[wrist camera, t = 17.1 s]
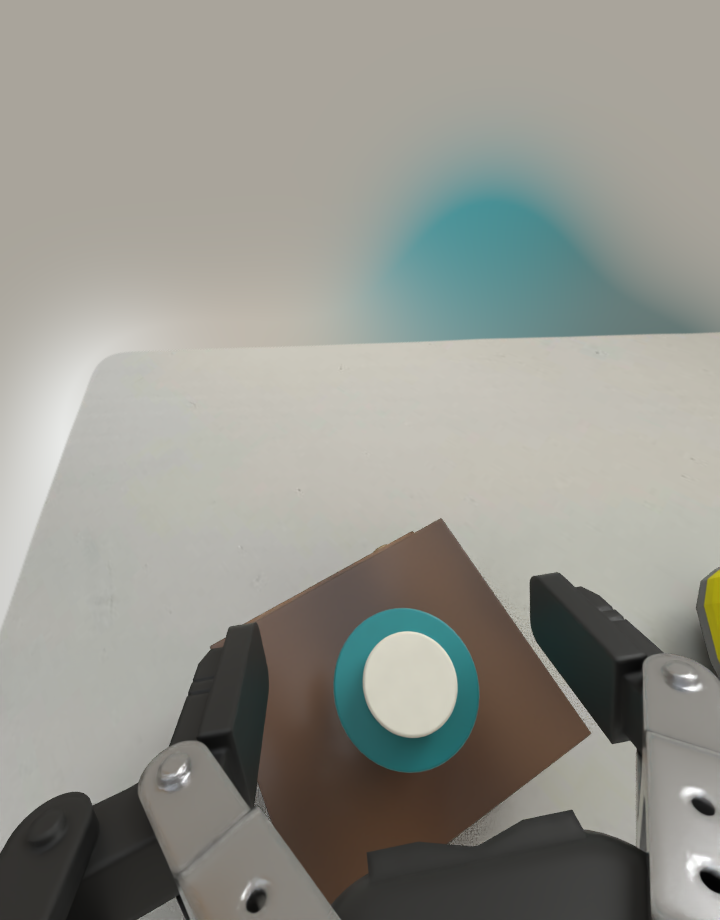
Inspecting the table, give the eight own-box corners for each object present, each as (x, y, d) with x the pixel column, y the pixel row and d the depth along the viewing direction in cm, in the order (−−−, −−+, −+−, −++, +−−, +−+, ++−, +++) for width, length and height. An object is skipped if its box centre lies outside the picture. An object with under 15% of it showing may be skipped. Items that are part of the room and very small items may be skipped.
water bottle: (374, 766, 19) (381, 822, 10) (329, 669, 21) (302, 647, 12) (456, 710, 20) (526, 718, 11) (406, 623, 22) (432, 571, 13)
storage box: (332, 866, 24) (314, 945, 16) (244, 642, 30) (201, 622, 22) (527, 724, 27) (592, 733, 19) (414, 547, 33) (429, 499, 25)
